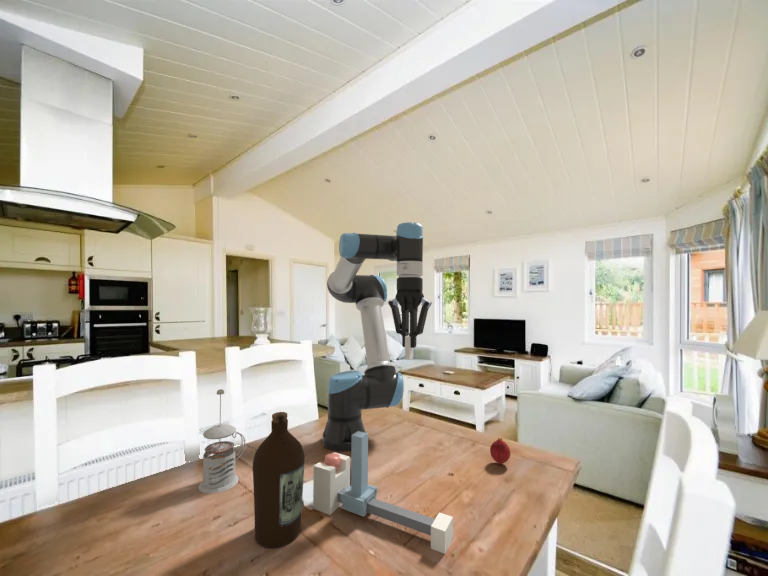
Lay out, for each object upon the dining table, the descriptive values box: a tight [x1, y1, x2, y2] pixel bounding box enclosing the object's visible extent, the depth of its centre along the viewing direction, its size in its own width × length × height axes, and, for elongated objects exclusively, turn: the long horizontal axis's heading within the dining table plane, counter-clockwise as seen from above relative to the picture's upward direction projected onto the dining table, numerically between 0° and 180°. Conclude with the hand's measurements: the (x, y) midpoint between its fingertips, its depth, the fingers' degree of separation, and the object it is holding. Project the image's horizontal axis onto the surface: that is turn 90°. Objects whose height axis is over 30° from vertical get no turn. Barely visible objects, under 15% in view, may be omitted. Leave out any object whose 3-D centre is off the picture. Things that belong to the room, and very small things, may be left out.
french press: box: [197, 389, 246, 495], centre depth 92 cm, size 10×12×25 cm
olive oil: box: [252, 411, 306, 549], centre depth 73 cm, size 11×11×25 cm
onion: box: [489, 436, 511, 465], centre depth 103 cm, size 6×6×8 cm
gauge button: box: [324, 452, 340, 470], centre depth 83 cm, size 4×4×2 cm
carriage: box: [341, 431, 378, 517], centre depth 79 cm, size 6×6×17 cm
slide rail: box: [312, 451, 454, 555], centre depth 77 cm, size 32×8×10 cm, turn 61°
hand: (409, 358), depth 98 cm, fingers closed
